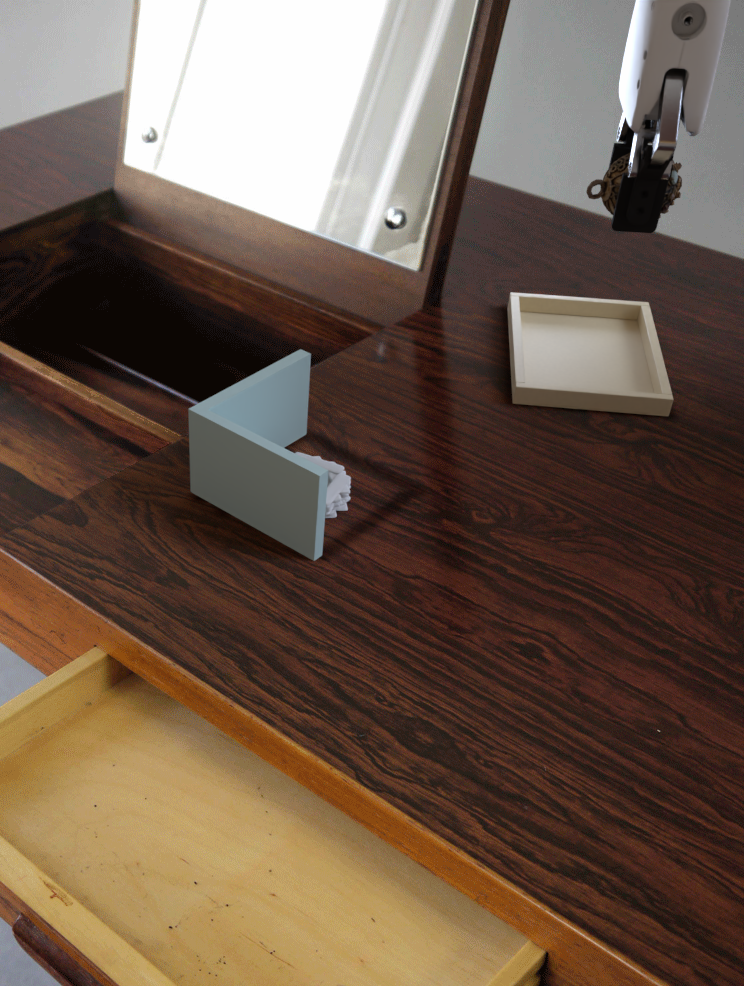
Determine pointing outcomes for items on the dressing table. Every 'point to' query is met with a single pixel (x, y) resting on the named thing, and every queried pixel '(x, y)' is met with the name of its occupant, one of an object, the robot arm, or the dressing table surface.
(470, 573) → the dressing table surface
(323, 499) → the l-shaped corner panel
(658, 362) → the cream shallow tray
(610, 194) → the pendant
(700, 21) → the robot arm
